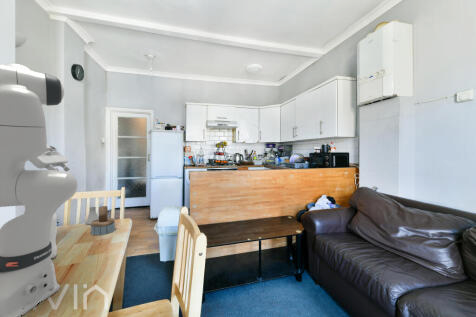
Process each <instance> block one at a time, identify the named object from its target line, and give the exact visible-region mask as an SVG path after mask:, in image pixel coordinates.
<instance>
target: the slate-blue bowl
mask: <svg viewBox="0 0 476 317" xmlns="http://www.w3.org/2000/svg"><path fill="white" fill-rule="evenodd" d="M115 230H116V221H115V222H114V223H113V224H111V225H108V226H103V227H93V226H91V225H90V234H91V235H93V236H104V235H107V234H111V233H113V232H114V231H115ZM110 232H111V233H110ZM103 234H104V235H103Z"/></svg>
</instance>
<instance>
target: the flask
mask: <svg viewBox="0 0 476 317" xmlns="http://www.w3.org/2000/svg"><path fill="white" fill-rule="evenodd" d="M96 208H97V206H91V207H89V213H88V216H87V218H86V221H85V225H87V226H91V222H92V221H94V220H97V219H99V215H98V214H97V210H96Z"/></svg>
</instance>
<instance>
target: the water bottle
mask: <svg viewBox="0 0 476 317" xmlns="http://www.w3.org/2000/svg"><path fill="white" fill-rule="evenodd" d="M57 220H58V216H57V213H56V212H55V213H54V215H53V217H52V220H51V226H50V242H51V244H52V253H51V255H50V256H51V259H54V258H56V255H57V253H58V247H57V243H56V240H57V239H56V238H57V235H58V229H57V228H58V222H57Z"/></svg>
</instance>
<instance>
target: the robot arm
mask: <svg viewBox="0 0 476 317" xmlns="http://www.w3.org/2000/svg"><path fill="white" fill-rule="evenodd" d="M64 96H65V88H64V87H63V83H61V80H60V79H59V78H58V77H56V76H54V75H52V74H49V73H41V72H39V71H34V70H31V69H30V68H29V67H28V66H25V65H23V64H19V63H15V62H14V63H13V62H12V63H11V62H9V63H4V64H2V63H1V64H0V208H2V207H3V208H4V207H5V208H6V207H18V206H20V207H21V206H22V207H23V206H24V211H23V214H20V215H18V216H16V217H14V218H12V219H10V220H8V221H6V222H5V223H4V224H2V226H1V227H0V317H22V316H23V315H25V314H26V313H28V312H29V311H31V310H32V309H33V308H35V307H37V304H38V303H39V302H40V303H42V302H44V300H46V299H47V298H50V296H52V295H53V294H55V293H56V292H58V291H59V290H60V284H59V283H58V281H57V277H56V270H55V264H54V262H53V260H52V258H51V256H50V255H51V253H52V244H51V242H50V226H51V220H52V217H53V215H54V213H55V214H56V212H57V210H58V209H59V208H60V207H61V206H63V204H65V203H66V202H67V201H68V200H70V199H71V198H73V197H74V195H75V194H76V192H77V190H78V181H77V178H76V177H75V175H73V174H72V173H71V171H70V170H71V169H70V167H69V166H68V165H67V163H68V159H67V158H66V157H65V156H64V155H63V154H62V153H61V152H59V151H58V149H57V148H56V147H54V146H53V145H49V144H48V140H47V125H46V117H45V112H44V108H43V105H44V106H45V105H46V106H49V107H50V106H58V105H60V104H61V103H62V100H63V99H64ZM28 161H29V162H30V164H32V165H33V166H34V167H36V168H37V169H33V170H32V169H25V165H26V163H27V162H28ZM56 167H60V168H62V170H59V169H58V168H56ZM69 171H70V172H69ZM41 301H42V302H41ZM40 303H39V304H40ZM39 304H38V305H39ZM21 315H22V316H21Z"/></svg>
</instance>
